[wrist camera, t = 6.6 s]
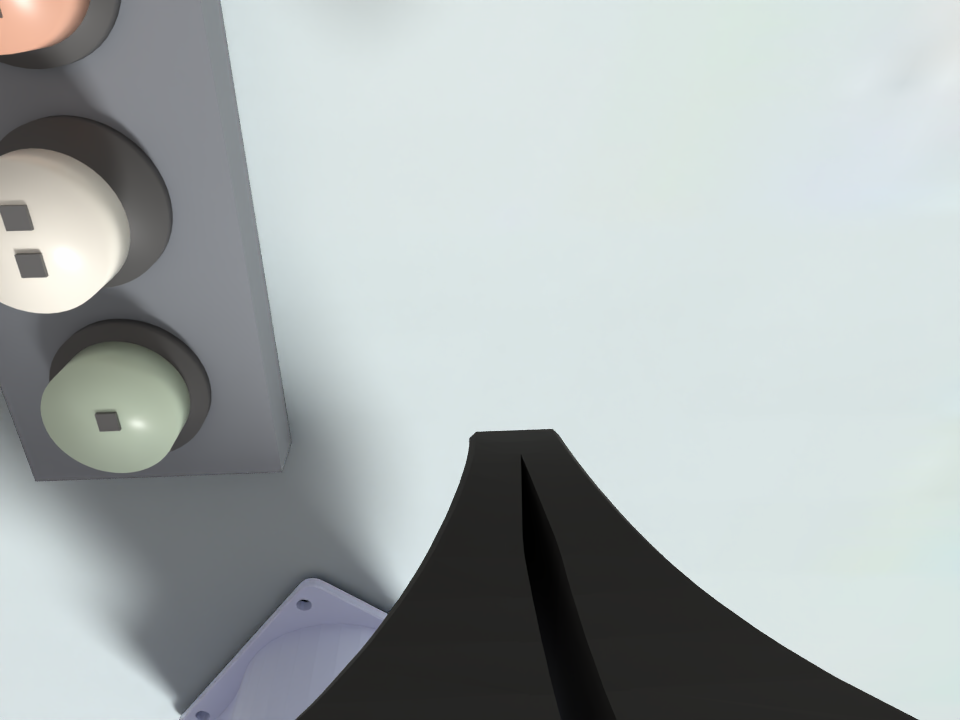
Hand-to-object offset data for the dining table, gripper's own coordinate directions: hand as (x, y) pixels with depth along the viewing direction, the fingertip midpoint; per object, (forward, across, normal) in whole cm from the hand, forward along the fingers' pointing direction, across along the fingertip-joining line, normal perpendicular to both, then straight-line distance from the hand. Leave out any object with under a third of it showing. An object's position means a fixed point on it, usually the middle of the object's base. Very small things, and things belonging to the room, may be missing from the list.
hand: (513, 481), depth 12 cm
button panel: (+9, +10, -3) cm, 14 cm away
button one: (+7, +9, +2) cm, 12 cm away
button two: (+6, +10, -3) cm, 12 cm away
